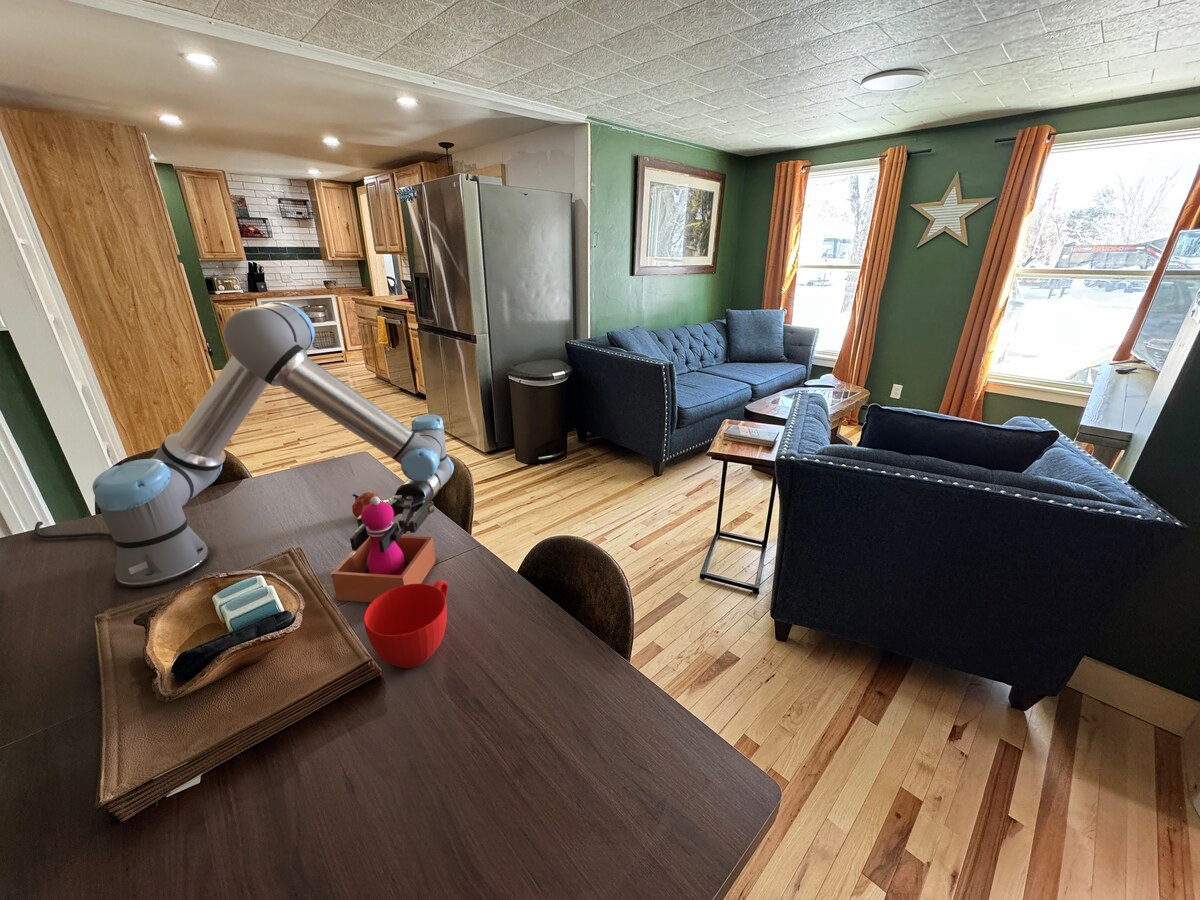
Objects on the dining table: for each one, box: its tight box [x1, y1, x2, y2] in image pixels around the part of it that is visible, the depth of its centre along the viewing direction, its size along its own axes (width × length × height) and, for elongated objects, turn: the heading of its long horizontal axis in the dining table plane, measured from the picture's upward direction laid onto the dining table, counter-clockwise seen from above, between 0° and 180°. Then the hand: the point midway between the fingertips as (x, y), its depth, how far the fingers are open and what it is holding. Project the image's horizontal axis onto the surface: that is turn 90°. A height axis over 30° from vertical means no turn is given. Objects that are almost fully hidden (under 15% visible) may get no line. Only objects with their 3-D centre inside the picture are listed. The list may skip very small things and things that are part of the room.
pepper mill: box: [361, 497, 405, 576], centre depth 98 cm, size 7×7×20 cm
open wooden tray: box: [330, 535, 436, 603], centre depth 101 cm, size 15×15×6 cm
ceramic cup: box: [363, 580, 449, 669], centre depth 83 cm, size 13×17×10 cm
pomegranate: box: [351, 491, 383, 519], centre depth 124 cm, size 7×7×10 cm
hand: (367, 545), depth 92 cm, fingers closed on pepper mill, 5 cm apart
